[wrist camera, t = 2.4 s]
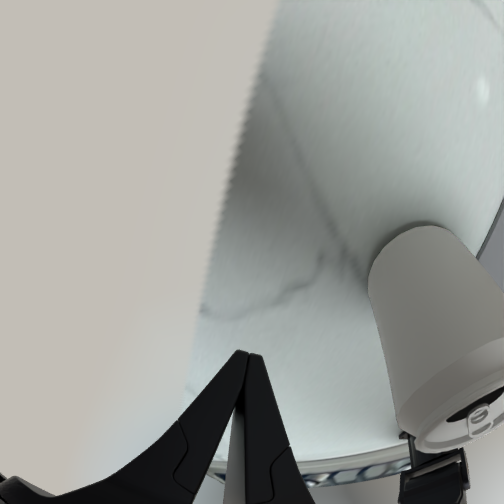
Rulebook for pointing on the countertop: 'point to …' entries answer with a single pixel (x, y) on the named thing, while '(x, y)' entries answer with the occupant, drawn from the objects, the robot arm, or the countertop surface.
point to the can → (439, 338)
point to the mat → (494, 250)
